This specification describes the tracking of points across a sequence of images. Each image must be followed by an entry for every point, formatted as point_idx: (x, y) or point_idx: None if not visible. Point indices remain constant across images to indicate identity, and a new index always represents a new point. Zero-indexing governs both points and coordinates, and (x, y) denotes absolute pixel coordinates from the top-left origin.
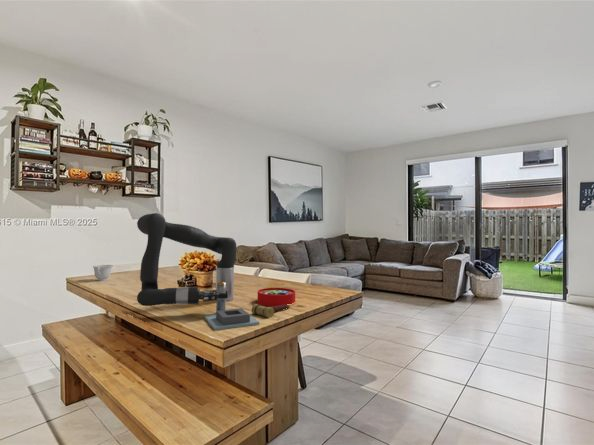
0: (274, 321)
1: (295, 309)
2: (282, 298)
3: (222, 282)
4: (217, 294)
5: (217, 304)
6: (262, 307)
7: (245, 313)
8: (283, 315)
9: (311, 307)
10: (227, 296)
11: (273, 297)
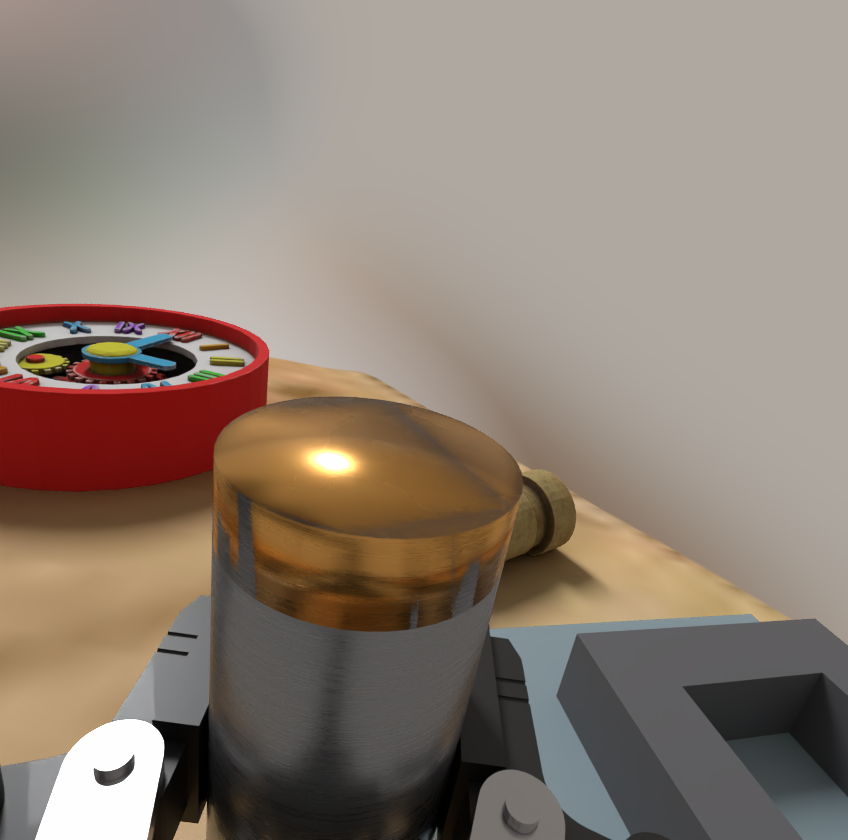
0: (635, 543)
1: None
2: (266, 381)
3: (379, 438)
4: (554, 835)
5: None
6: None
7: (796, 643)
8: None
9: (352, 382)
10: None
11: (239, 393)
